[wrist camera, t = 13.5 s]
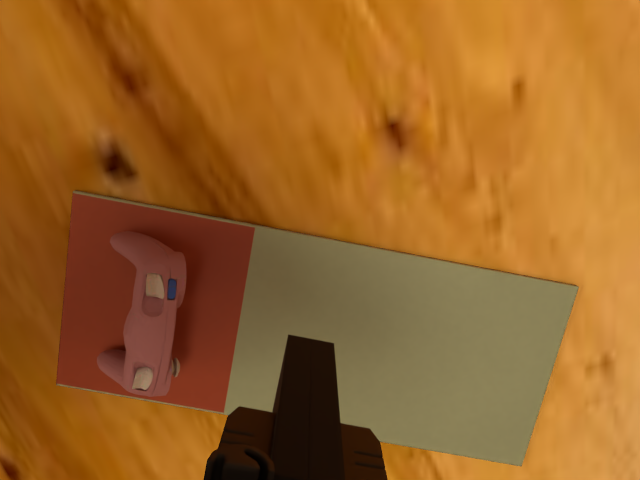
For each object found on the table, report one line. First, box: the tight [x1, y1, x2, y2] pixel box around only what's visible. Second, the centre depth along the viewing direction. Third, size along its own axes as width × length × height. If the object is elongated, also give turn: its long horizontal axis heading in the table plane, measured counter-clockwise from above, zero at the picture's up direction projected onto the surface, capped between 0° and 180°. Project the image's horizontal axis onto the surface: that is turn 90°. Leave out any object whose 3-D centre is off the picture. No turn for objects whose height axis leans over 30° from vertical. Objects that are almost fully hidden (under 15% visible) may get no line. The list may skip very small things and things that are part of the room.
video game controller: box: [97, 231, 186, 397], centre depth 32 cm, size 10×5×7 cm, turn 169°
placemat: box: [56, 190, 579, 466], centre depth 35 cm, size 34×14×1 cm, turn 79°
